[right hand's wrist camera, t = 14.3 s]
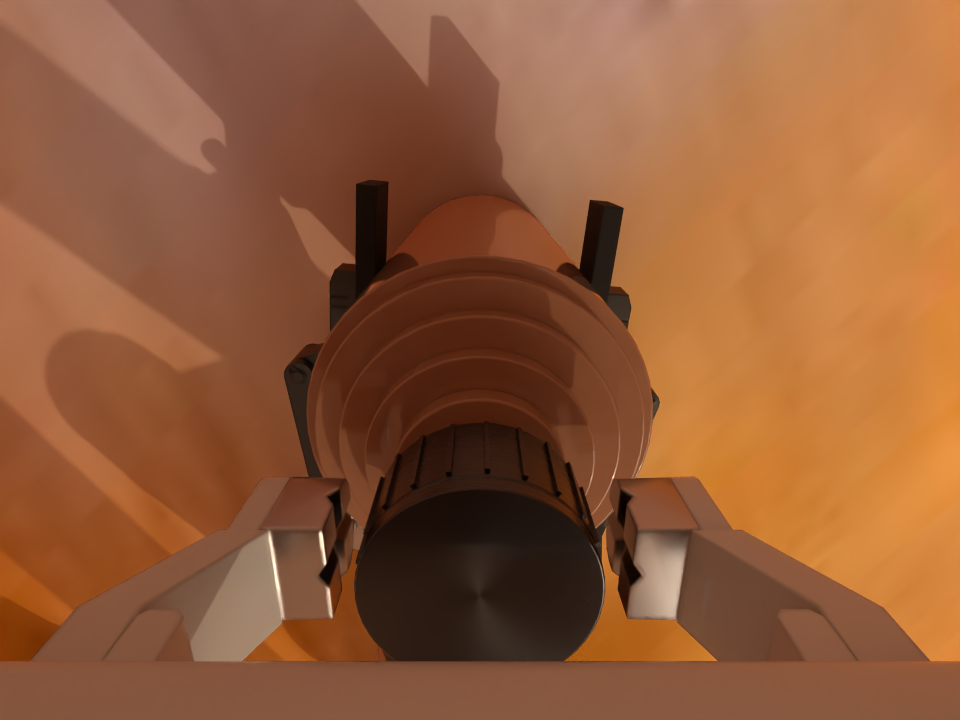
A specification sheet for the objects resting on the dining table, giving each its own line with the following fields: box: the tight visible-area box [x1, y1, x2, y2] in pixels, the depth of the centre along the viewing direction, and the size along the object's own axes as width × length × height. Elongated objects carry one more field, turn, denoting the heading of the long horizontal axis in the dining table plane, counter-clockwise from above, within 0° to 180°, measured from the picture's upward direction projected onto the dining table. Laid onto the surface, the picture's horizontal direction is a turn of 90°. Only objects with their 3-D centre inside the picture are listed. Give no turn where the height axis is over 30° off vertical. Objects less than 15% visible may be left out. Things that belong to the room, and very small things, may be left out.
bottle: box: [307, 195, 653, 529], centre depth 19 cm, size 8×8×22 cm
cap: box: [354, 421, 605, 661], centre depth 9 cm, size 4×4×2 cm
